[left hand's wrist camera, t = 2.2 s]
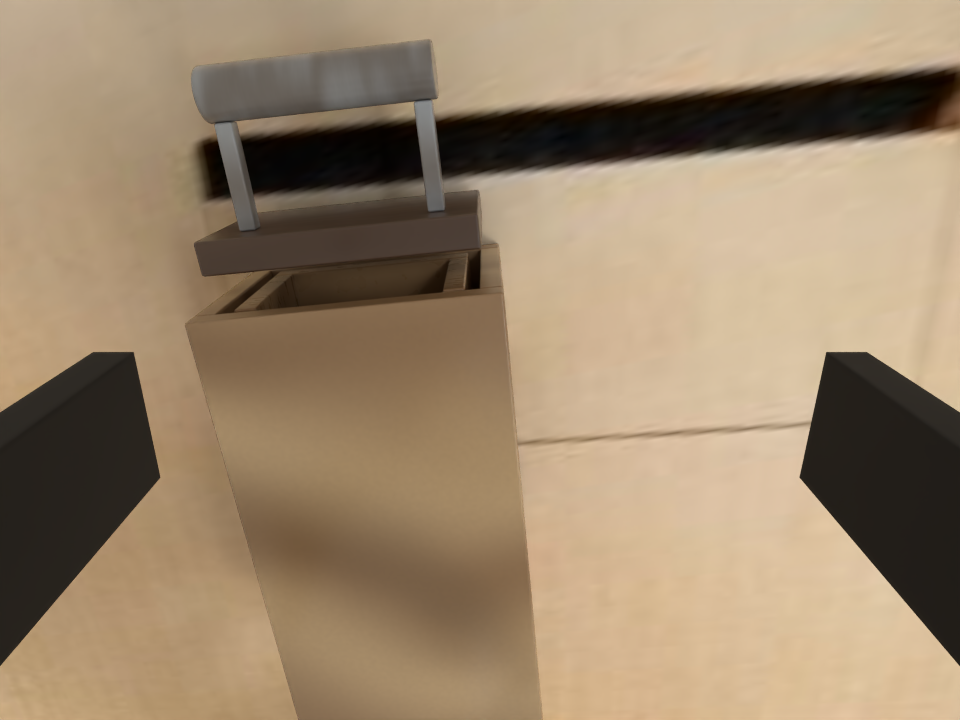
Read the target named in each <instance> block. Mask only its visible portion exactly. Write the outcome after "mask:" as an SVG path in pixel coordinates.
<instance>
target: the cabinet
mask: <svg viewBox="0 0 960 720" xmlns="http://www.w3.org/2000/svg"><path fill="white" fill-rule="evenodd" d="M460 253H468V254H469V261H470V270H471V279H472V288H473V290H463V291H453V292H443V293H432V294H422V295H412V296H402V297H391V298H381V299H371V300H361V301H350V302H340V303H330V304H320V305H309V306H299V307H289V308H279V309H269V310H258V311H248V312H238V313H235V312H234V311H235V309H237V308H238V307H239V306H240V305H241V304H242V303H244V302H245V301H246V300H247V299H248V298H250V297H251V296H252V295H253V294H254V293H256V292H257V291H258V290H259V289H260V288H261V287H263V286H264V285H265V284H266V283H267V282H269V281H270V280H271V279H272V278H273V277H275V276H276V275H277V274H278V273H280V272H281V271H290V270H300V269H310V268H320V267H330V266H340V265H350V264H360V263H370V262H380V261H390V260H400V259H410V258H420V257H430V256H440V255H450V254H460ZM185 327H186V330H187V334H188V337H189V341H190V344H191V348H192V351H193V355H194V358H195V362H196V365H197V369H198V372H199V376H200V379H201V383H202V386H203V390H204V393H205V396H206V400H207V403H208V407H209V410H210V414H211V417H212V421H213V424H214V428H215V431H216V435H217V438H218V442H219V445H220V449H221V452H222V456H223V459H224V463H225V466H226V469H227V473H228V476H229V480H230V483H231V487H232V490H233V494H234V497H235V501H236V504H237V508H238V511H239V515H240V518H241V522H242V525H243V529H244V532H245V536H246V539H247V542H248V546H249V549H250V553H251V556H252V560H253V563H254V567H255V570H256V574H257V577H258V581H259V584H260V588H261V591H262V595H263V598H264V602H265V605H266V609H267V612H268V616H269V619H270V622H271V626H272V629H273V633H274V636H275V640H276V643H277V647H278V650H279V654H280V657H281V661H282V664H283V668H284V671H285V675H286V678H287V682H288V685H289V689H290V692H291V695H292V699H293V702H294V706H295V709H296V713H297V716H298V720H543V716H542V705H541V694H540V683H539V672H538V661H537V650H536V639H535V629H534V618H533V607H532V596H531V585H530V574H529V563H528V552H527V541H526V530H525V520H524V509H523V498H522V487H521V476H520V465H519V454H518V443H517V432H516V421H515V411H514V400H513V389H512V378H511V367H510V356H509V345H508V334H507V323H506V312H505V302H504V291H503V281H502V271H501V262H500V252H499V245H498V244H488V245H481V248H480V249H475V250H465V251H455V252H445V253H435V254H426V255H416V256H406V257H396V258H386V259H376V260H366V261H356V262H346V263H336V264H326V265H316V266H306V267H296V268H286V269H276V270H266V271H256V272H254V273H252V274H251V275H250V276H248V277H247V278H246V279H244V280H243V281H242V282H240V283H239V284H238V285H236V286H235V287H234V288H232V289H231V290H230V291H228V292H227V293H226V294H224V295H223V296H222V297H220V298H219V299H218V300H216V301H215V302H214V303H212V304H211V305H210V306H208V307H207V308H206V309H204V310H203V311H202V312H200V313H199V314H198V315H196V316H195V317H193V318H192V319H191V320H189V321H188V322H187V323H185Z"/></svg>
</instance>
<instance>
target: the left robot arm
mask: <svg viewBox="0 0 960 720" xmlns="http://www.w3.org/2000/svg"><path fill="white" fill-rule="evenodd" d="M159 478H160V474H159V469H158V464H157V459H156V455H155V450H154V445H153V441H152V436H151V431H150V427H149V422H148V417H147V413H146V408H145V403H144V399H143V394H142V389H141V385H140V380H139V375H138V371H137V366H136V361H135V357H134V352H93V353H91V354H90V355H88V356H87V357H85V358H83V359H82V360H80V361H79V362H77V363H76V364H74V365H73V366H71V367H70V368H68V369H67V370H65V371H63V372H62V373H60V374H59V375H57V376H56V377H54V378H53V379H51V380H50V381H48V382H46V383H45V384H43V385H42V386H40V387H39V388H37V389H36V390H34V391H33V392H31V393H29V394H28V395H26V396H25V397H23V398H22V399H20V400H19V401H17V402H16V403H14V404H13V405H11V406H9V407H8V408H6V409H5V410H3V411H2V412H0V666H1V664H2V663H3V662H4V661H5V660H6V659H7V657H8V656H9V655H10V654H11V653H12V651H13V650H14V649H15V648H16V647H17V646H18V644H19V643H20V642H21V641H22V640H23V639H24V637H25V636H26V635H27V634H28V633H29V631H30V630H31V629H32V628H33V627H34V626H35V624H36V623H37V622H38V621H39V620H40V619H41V617H42V616H43V615H44V614H45V613H46V611H47V610H48V609H49V608H50V607H51V606H52V604H53V603H54V602H55V601H56V600H57V599H58V597H59V596H60V595H61V594H62V593H63V591H64V590H65V589H66V588H67V587H68V586H69V584H70V583H71V582H72V581H73V580H74V579H75V577H76V576H77V575H78V574H79V573H80V571H81V570H82V569H83V568H84V567H85V566H86V564H87V563H88V562H89V561H90V560H91V559H92V557H93V556H94V555H95V554H96V553H97V551H98V550H99V549H100V548H101V547H102V546H103V544H104V543H105V542H106V541H107V540H108V539H109V537H110V536H111V535H112V534H113V533H114V531H115V530H116V529H117V528H118V527H119V526H120V524H121V523H122V522H123V521H124V520H125V519H126V517H127V516H128V515H129V514H130V513H131V511H132V510H133V509H134V508H135V507H136V506H137V504H138V503H139V502H140V501H141V500H142V499H143V497H144V496H145V495H146V494H147V493H148V491H149V490H150V489H151V488H152V487H153V486H154V484H155V483H156V482H157V481H158V480H159ZM800 479H801V480H802V481H803V482H804V483H805V484H806V486H807V487H808V488H809V489H810V490H811V491H812V493H813V494H814V495H815V496H816V497H817V499H818V500H819V501H820V502H821V503H822V504H823V506H824V507H825V508H826V509H827V510H828V511H829V513H830V514H831V515H832V516H833V517H834V519H835V520H836V521H837V522H838V523H839V524H840V526H841V527H842V528H843V529H844V530H845V531H846V533H847V534H848V535H849V536H850V537H851V539H852V540H853V541H854V542H855V543H856V544H857V546H858V547H859V548H860V549H861V550H862V551H863V553H864V554H865V555H866V556H867V557H868V559H869V560H870V561H871V562H872V563H873V564H874V566H875V567H876V568H877V569H878V570H879V571H880V573H881V574H882V575H883V576H884V577H885V579H886V580H887V581H888V582H889V583H890V584H891V586H892V587H893V588H894V589H895V590H896V591H897V593H898V594H899V595H900V596H901V597H902V599H903V600H904V601H905V602H906V603H907V604H908V606H909V607H910V608H911V609H912V610H913V611H914V613H915V614H916V615H917V616H918V617H919V619H920V620H921V621H922V622H923V623H924V624H925V626H926V627H927V628H928V629H929V630H930V631H931V633H932V634H933V635H934V636H935V637H936V639H937V640H938V641H939V642H940V643H941V644H942V646H943V647H944V648H945V649H946V650H947V651H948V653H949V654H950V655H951V656H952V657H953V659H954V660H955V661H956V662H957V663H958V664H959V666H960V412H958V411H957V410H955V409H954V408H952V407H951V406H949V405H947V404H946V403H944V402H943V401H941V400H940V399H938V398H937V397H935V396H934V395H932V394H931V393H929V392H927V391H926V390H924V389H923V388H921V387H920V386H918V385H917V384H915V383H914V382H912V381H910V380H909V379H907V378H906V377H904V376H903V375H901V374H900V373H898V372H897V371H895V370H893V369H892V368H890V367H889V366H887V365H886V364H884V363H883V362H881V361H880V360H878V359H877V358H875V357H873V356H872V355H870V354H869V353H867V352H826V357H825V361H824V366H823V371H822V375H821V380H820V385H819V389H818V394H817V399H816V403H815V408H814V413H813V417H812V422H811V427H810V431H809V436H808V441H807V445H806V450H805V455H804V459H803V464H802V469H801V474H800Z"/></svg>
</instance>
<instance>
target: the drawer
mask: <svg viewBox="0 0 960 720" xmlns="http://www.w3.org/2000/svg"><path fill="white" fill-rule="evenodd" d="M191 84H192V91H193V96H194V99H195V102H196V105H197V107H198V110H199V112H200V114H201V115H202V117H203V118H204V119H205V120H206V121H207V122H208V123H211V124H215V123H216V124H215V130H216V134H217V138H218V142H219V147H220V151H221V155H222V159H223V163H224V167H225V172H226V176H227V180H228V184H229V188H230V192H231V197H232V201H233V205H234V209H235V213H236V217H237V222H235V223H233V224H231V225H229V226H227V227H225V228H223V229H221V230H219V231H217V232H215V233H213V234H211V235H209V236H207V237H205V238H203V239H201V240H199V241H197V242H195V243H194V247H195V251H196V254H197V258H198V262H199V266H200V269H201V273H202V276H205V277H206V276H216V275H226V274H236V273H246V272H256V271H266V270H276V269H286V268H296V267H306V266H316V265H326V264H336V263H346V262H356V261H366V260H376V259H386V258H396V257H406V256H416V255H426V254H435V253H445V252H455V251H465V250H475V249H480V248H481V240H482V213H481V203H480V193H479V190H472V191H463V192H453V193H444V189H443V181H442V172H441V164H440V156H439V147H438V139H437V131H436V122H435V114H434V106H433V101H432V100H431V99H437V98H438V80H437V70H436V62H435V55H434V49H433V44H432V41H431V40H430V39H427V40H418V41H410V42H401V43H392V44H383V45H375V46H366V47H357V48H349V49H340V50H331V51H322V52H314V53H305V54H296V55H288V56H279V57H270V58H262V59H253V60H244V61H235V62H227V63H218V64H209V65H201V66H196V67H195V68H194V69H193V71H192V75H191ZM413 101H415V102H414V108H415V116H416V124H417V131H418V139H419V147H420V154H421V162H422V170H423V177H424V185H425V193H426V195H424V196H415V197H405V198H396V199H386V200H376V201H367V202H357V203H348V204H338V205H328V206H319V207H309V208H300V209H290V210H280V211H271V212H261V213H257V209H256V205H255V200H254V196H253V192H252V187H251V183H250V179H249V174H248V170H247V165H246V161H245V157H244V152H243V148H242V143H241V139H240V135H239V130H238V126H237V123H236V122H235V121H242V120H251V119H260V118H269V117H278V116H287V115H296V114H305V113H314V112H323V111H332V110H341V109H350V108H359V107H368V106H377V105H386V104H395V103H404V102H413ZM463 290H473V288H472V279H471V270H470V261H469V254H468V253H460V254H450V255H440V256H430V257H420V258H410V259H400V260H390V261H380V262H370V263H360V264H350V265H340V266H330V267H320V268H310V269H300V270H290V271H281V272H280V273H278V274H277V275H276V276H275V277H273V278H272V279H271V280H270V281H269V282H267V283H266V284H265V285H264V286H263V287H261V288H260V289H259V290H258V291H257V292H256V293H254V294H253V295H252V296H251V297H250V298H248V299H247V300H246V301H245V302H244V303H242V304H241V305H240V306H239V307H238V308H237V309H235V311H234V312H235V313H238V312H248V311H258V310H269V309H279V308H289V307H299V306H309V305H320V304H330V303H340V302H350V301H361V300H371V299H381V298H391V297H402V296H412V295H422V294H432V293H443V292H453V291H463Z"/></svg>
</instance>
